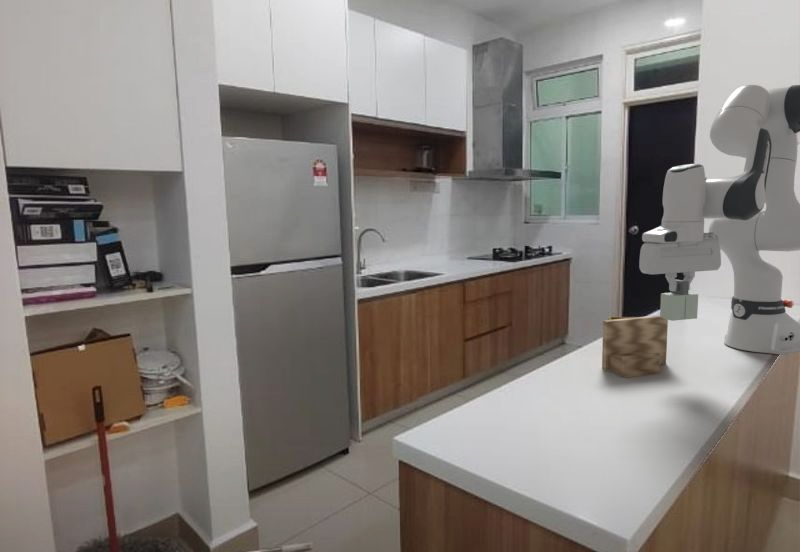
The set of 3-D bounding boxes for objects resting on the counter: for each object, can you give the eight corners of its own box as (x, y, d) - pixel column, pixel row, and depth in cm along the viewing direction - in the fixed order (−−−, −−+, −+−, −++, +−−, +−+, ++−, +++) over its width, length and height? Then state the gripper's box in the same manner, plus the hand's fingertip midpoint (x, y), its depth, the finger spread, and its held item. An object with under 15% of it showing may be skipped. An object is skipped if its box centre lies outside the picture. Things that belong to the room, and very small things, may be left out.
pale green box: (684, 315, 123) (686, 278, 121) (697, 318, 119) (699, 280, 117) (660, 317, 121) (661, 280, 120) (672, 320, 117) (673, 282, 116)
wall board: (661, 361, 133) (663, 314, 131) (683, 370, 125) (685, 321, 123) (602, 368, 129) (603, 320, 127) (620, 378, 122) (621, 327, 120)
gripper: (708, 231, 122) (705, 286, 124) (636, 234, 118) (634, 291, 120) (729, 232, 116) (726, 289, 118) (654, 235, 112) (652, 295, 114)
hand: (679, 290), depth 119 cm, fingers closed on pale green box
